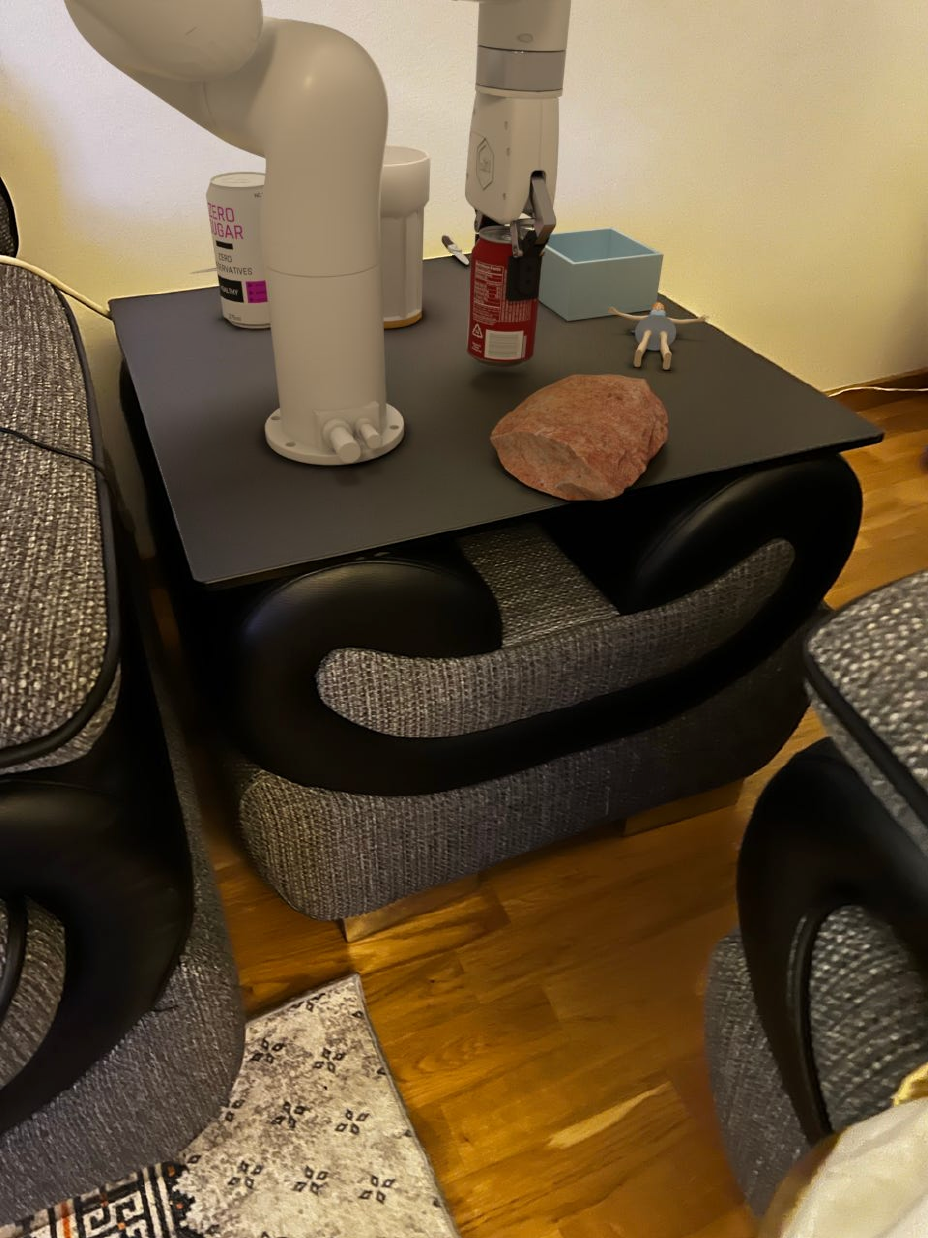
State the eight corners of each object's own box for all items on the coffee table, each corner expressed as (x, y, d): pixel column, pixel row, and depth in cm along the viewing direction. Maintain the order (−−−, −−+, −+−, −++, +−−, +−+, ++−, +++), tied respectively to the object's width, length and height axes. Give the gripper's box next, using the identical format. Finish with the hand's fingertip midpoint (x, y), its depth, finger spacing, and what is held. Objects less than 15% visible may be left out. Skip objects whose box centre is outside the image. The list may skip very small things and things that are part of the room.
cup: (329, 302, 111) (318, 144, 100) (419, 296, 113) (417, 141, 102) (344, 335, 102) (333, 167, 91) (441, 328, 105) (442, 163, 94)
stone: (558, 411, 92) (464, 485, 77) (560, 353, 89) (462, 419, 74) (694, 432, 86) (621, 516, 71) (701, 371, 83) (626, 446, 68)
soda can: (528, 373, 88) (540, 245, 81) (460, 366, 89) (466, 238, 82) (536, 349, 94) (548, 227, 87) (472, 342, 94) (478, 221, 87)
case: (655, 309, 111) (663, 253, 107) (567, 321, 107) (572, 263, 103) (606, 279, 120) (612, 226, 116) (523, 289, 116) (526, 235, 112)
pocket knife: (449, 240, 133) (436, 238, 132) (451, 234, 132) (438, 232, 132) (472, 269, 123) (459, 267, 122) (474, 262, 122) (460, 260, 121)
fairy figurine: (601, 332, 95) (610, 283, 103) (596, 374, 98) (605, 323, 106) (712, 342, 93) (712, 292, 102) (704, 384, 97) (705, 331, 105)
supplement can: (301, 307, 109) (289, 171, 100) (284, 332, 103) (269, 189, 93) (236, 303, 110) (217, 168, 100) (214, 328, 103) (192, 186, 94)
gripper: (441, 60, 82) (436, 264, 92) (524, 87, 69) (506, 320, 80) (516, 61, 84) (502, 259, 95) (609, 87, 71) (581, 312, 82)
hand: (504, 285), depth 87 cm, fingers closed on soda can, 6 cm apart
